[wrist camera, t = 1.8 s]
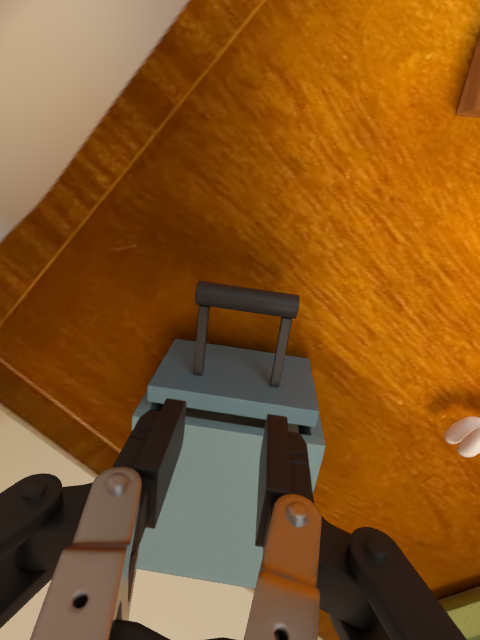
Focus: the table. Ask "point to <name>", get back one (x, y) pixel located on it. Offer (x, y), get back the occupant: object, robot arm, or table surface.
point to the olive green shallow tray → (465, 611)
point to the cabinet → (214, 502)
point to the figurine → (465, 436)
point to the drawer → (238, 367)
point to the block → (471, 89)
